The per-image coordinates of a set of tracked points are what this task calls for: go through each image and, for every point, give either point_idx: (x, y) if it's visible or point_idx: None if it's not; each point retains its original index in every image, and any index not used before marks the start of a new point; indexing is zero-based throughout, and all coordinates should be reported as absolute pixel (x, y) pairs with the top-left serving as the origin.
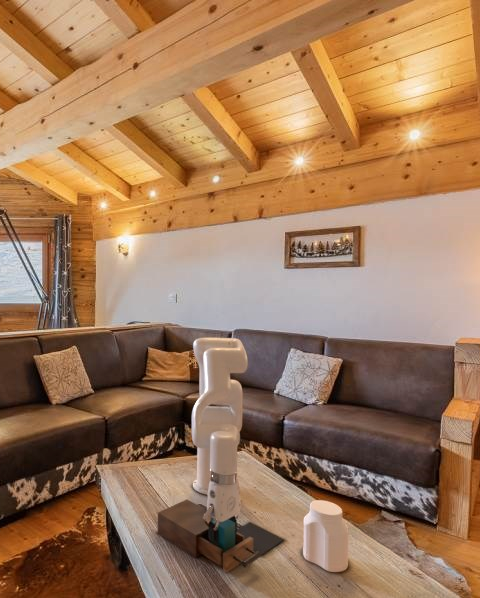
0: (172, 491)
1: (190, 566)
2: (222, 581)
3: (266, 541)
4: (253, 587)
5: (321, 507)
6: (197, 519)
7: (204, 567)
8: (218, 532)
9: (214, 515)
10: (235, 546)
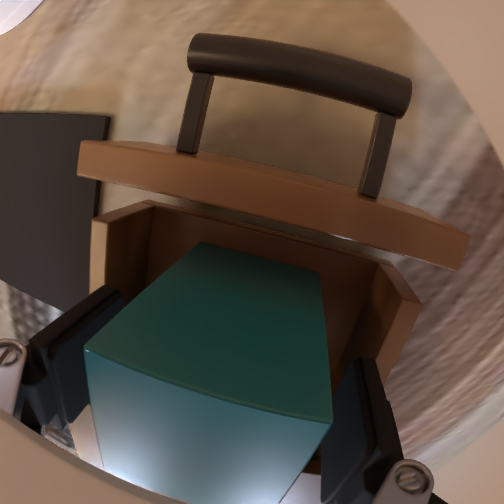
0: None
1: (422, 374)
2: (458, 209)
3: (20, 155)
4: (403, 53)
5: None
6: None
7: None
8: (383, 429)
9: (85, 441)
10: (300, 216)
